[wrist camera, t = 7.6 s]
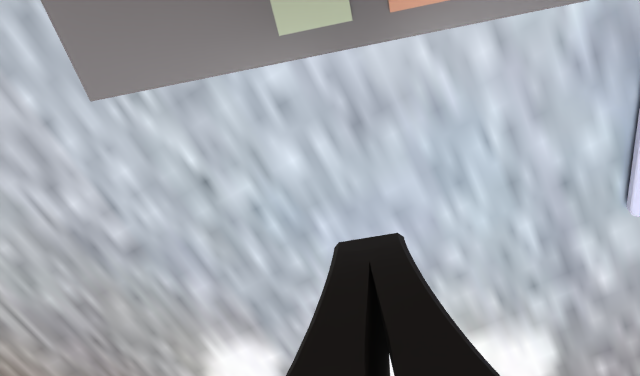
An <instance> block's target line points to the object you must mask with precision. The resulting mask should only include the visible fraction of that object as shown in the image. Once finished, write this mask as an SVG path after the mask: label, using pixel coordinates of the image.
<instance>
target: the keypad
mask: <svg viewBox="0 0 640 376" xmlns="http://www.w3.org/2000/svg"><path fill="white" fill-rule="evenodd" d="M583 1H588V0H41V2H42V4H43V6H44V8H45V10H46V12H47V14H48V16H49V18H50V20H51V22H52V24H53V26H54V28H55V30H56V32H57V34H58V36H59V38H60V41H61V43H62V45H63V47H64V49H65V51H66V53H67V55H68V57H69V59H70V61H71V63H72V65H73V67H74V69H75V71H76V73H77V75H78V77H79V79H80V81H81V83H82V85H83V87H84V89H85V91H86V93H87V95H88V97H89V99H90V101H95V100H100V99H105V98H110V97H115V96H120V95H125V94H130V93H135V92H140V91H145V90H149V89H154V88H159V87H164V86H169V85H174V84H179V83H184V82H189V81H194V80H199V79H204V78H209V77H214V76H218V75H223V74H228V73H233V72H238V71H243V70H248V69H253V68H258V67H263V66H268V65H273V64H278V63H283V62H288V61H292V60H297V59H302V58H307V57H312V56H317V55H322V54H327V53H332V52H337V51H342V50H347V49H352V48H357V47H361V46H366V45H371V44H376V43H381V42H386V41H391V40H396V39H401V38H406V37H411V36H416V35H421V34H426V33H430V32H435V31H440V30H445V29H450V28H455V27H460V26H465V25H470V24H475V23H480V22H485V21H490V20H495V19H500V18H504V17H509V16H514V15H519V14H524V13H529V12H534V11H539V10H544V9H549V8H554V7H559V6H564V5H569V4H573V3H578V2H583Z"/></svg>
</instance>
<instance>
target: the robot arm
mask: <svg viewBox="0 0 640 376" xmlns="http://www.w3.org/2000/svg"><path fill="white" fill-rule="evenodd" d="M627 209H628V210H629V212H630V213H631V214H632V215H633V216H636V217H640V110H639V117H638V125H637V132H636V140H635V147H634V154H633V162H632V169H631V177H630V184H629V192H628V199H627ZM389 354H390V359H391V363H392V367H393V371H394V375H395V376H500V375H499V374H498V373H497V372H496V371H495V370H494V369H493V367H492V366H491V365H490V364H489V363H488V362H487V361H486V360H485V359H484V357H483V356H482V355H481V354H480V353H479V352H478V351H477V349H476V348H475V347H474V346H473V345H472V343H471V342H470V341H469V340H468V339H467V337H466V336H465V335H464V334H463V332H462V331H461V330H460V329H459V327H458V326H457V325H456V324H455V322H454V321H453V320H452V318H451V317H450V316H449V314H448V313H447V312H446V310H445V309H444V307H443V306H442V305H441V303H440V302H439V300H438V299H437V297H436V296H435V294H434V293H433V291H432V290H431V289H430V287H429V286H428V284H427V282H426V281H425V279H424V278H423V276H422V274H421V273H420V271H419V269H418V267H417V266H416V264H415V262H414V260H413V258H412V256H411V254H410V252H409V250H408V248H407V246H406V243H405V240H404V237H403V236H402V235H400V234H398V233H394V234H388V235H382V236H375V237H369V238H363V239H357V240H351V241H345V242H339V243H338V244H337V245H336V247H335V248H334V254H333V258H332V262H331V266H330V270H329V273H328V276H327V280H326V283H325V286H324V289H323V292H322V295H321V297H320V300H319V302H318V305H317V308H316V310H315V313H314V316H313V318H312V321H311V323H310V326H309V328H308V330H307V332H306V335H305V337H304V339H303V341H302V343H301V346H300V348H299V350H298V352H297V354H296V357H295V359H294V361H293V363H292V365H291V367H290V369H289V371H288V373H287V375H286V376H390V365H389Z"/></svg>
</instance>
